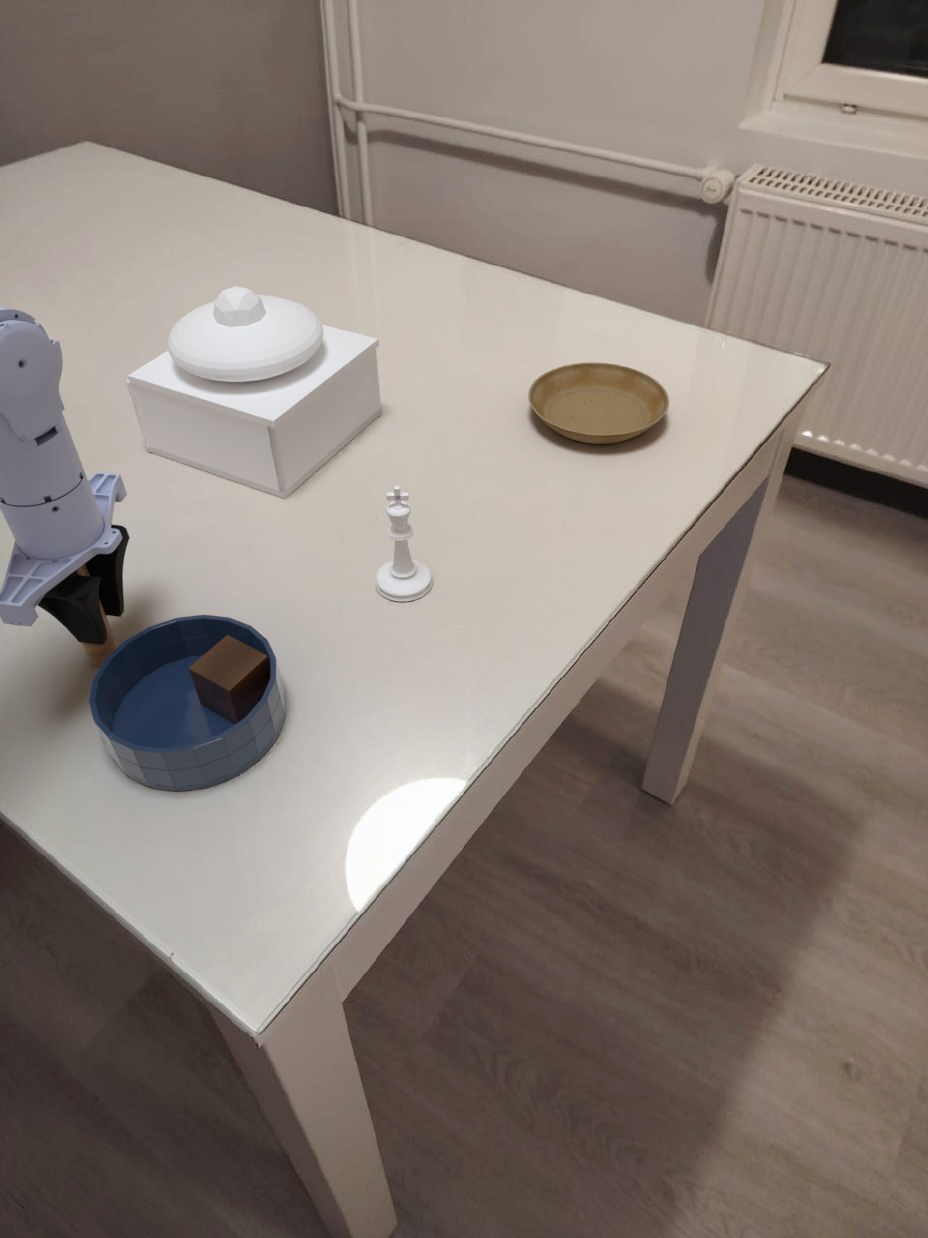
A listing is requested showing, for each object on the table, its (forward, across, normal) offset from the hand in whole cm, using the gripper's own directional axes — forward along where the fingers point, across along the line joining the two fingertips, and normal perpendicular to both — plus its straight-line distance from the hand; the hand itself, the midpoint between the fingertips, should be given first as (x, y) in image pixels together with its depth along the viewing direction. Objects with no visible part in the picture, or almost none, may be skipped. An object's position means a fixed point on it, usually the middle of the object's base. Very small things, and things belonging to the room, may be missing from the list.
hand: (101, 626), depth 66 cm
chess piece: (+4, +12, -21) cm, 24 cm away
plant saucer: (+4, +41, -36) cm, 55 cm away
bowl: (+3, -5, -9) cm, 11 cm away
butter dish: (+4, +33, -2) cm, 33 cm away
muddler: (+3, 0, +1) cm, 3 cm away
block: (+3, -3, -12) cm, 12 cm away
